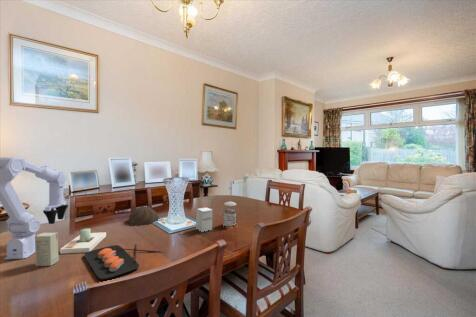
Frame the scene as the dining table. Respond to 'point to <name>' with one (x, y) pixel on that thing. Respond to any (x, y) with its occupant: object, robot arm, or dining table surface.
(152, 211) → the decorative dome
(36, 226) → the robot arm
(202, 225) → the supplement box
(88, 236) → the peg
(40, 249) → the skincare box
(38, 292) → the dining table surface
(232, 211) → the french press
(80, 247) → the hole board
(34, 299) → the dining table surface
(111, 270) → the sushi plate
